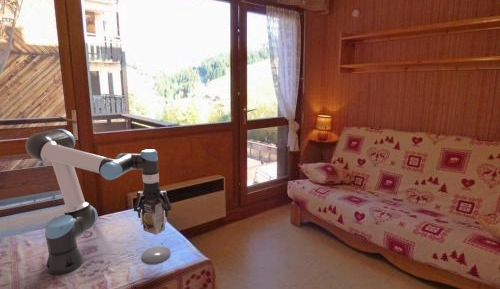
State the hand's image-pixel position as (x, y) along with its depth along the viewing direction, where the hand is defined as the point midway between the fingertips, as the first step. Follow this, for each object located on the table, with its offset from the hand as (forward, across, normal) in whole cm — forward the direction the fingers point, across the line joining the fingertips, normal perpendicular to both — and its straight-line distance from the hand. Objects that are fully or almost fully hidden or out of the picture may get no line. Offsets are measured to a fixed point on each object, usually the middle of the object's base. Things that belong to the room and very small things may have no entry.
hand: (153, 223), depth 148 cm
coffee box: (+4, 0, 0) cm, 4 cm away
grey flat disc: (+18, 0, 0) cm, 18 cm away
